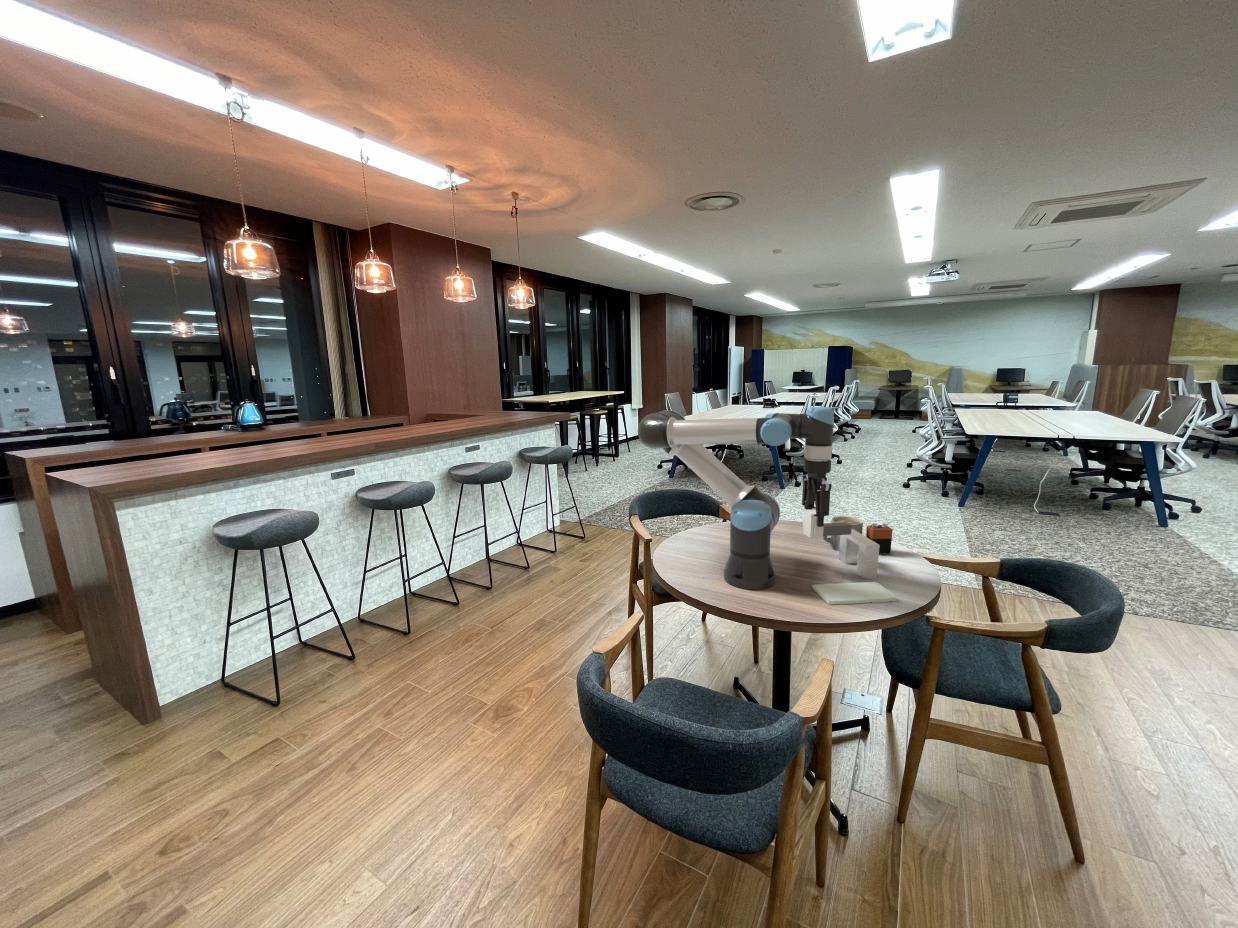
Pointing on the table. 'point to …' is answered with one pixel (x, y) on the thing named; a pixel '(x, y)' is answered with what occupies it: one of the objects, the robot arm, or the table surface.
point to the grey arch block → (860, 553)
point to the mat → (854, 593)
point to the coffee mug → (835, 539)
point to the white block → (828, 528)
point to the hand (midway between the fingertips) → (813, 532)
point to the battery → (880, 536)
